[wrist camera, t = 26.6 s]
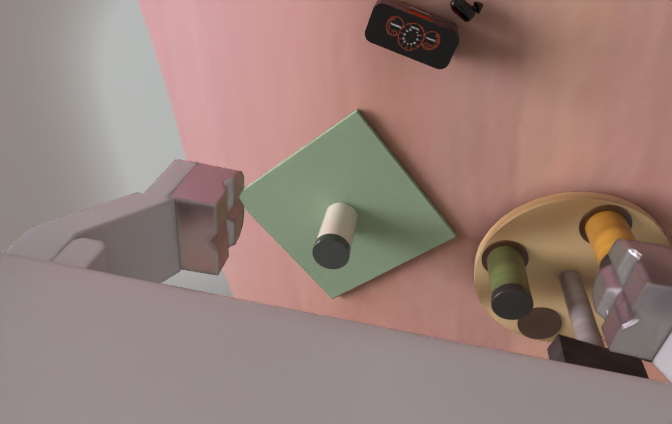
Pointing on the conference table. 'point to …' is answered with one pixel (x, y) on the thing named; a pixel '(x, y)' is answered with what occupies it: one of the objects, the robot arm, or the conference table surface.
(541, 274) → the spice carousel
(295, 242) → the sage mat
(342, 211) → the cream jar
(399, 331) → the robot arm
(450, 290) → the conference table surface
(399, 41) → the black box with knob
